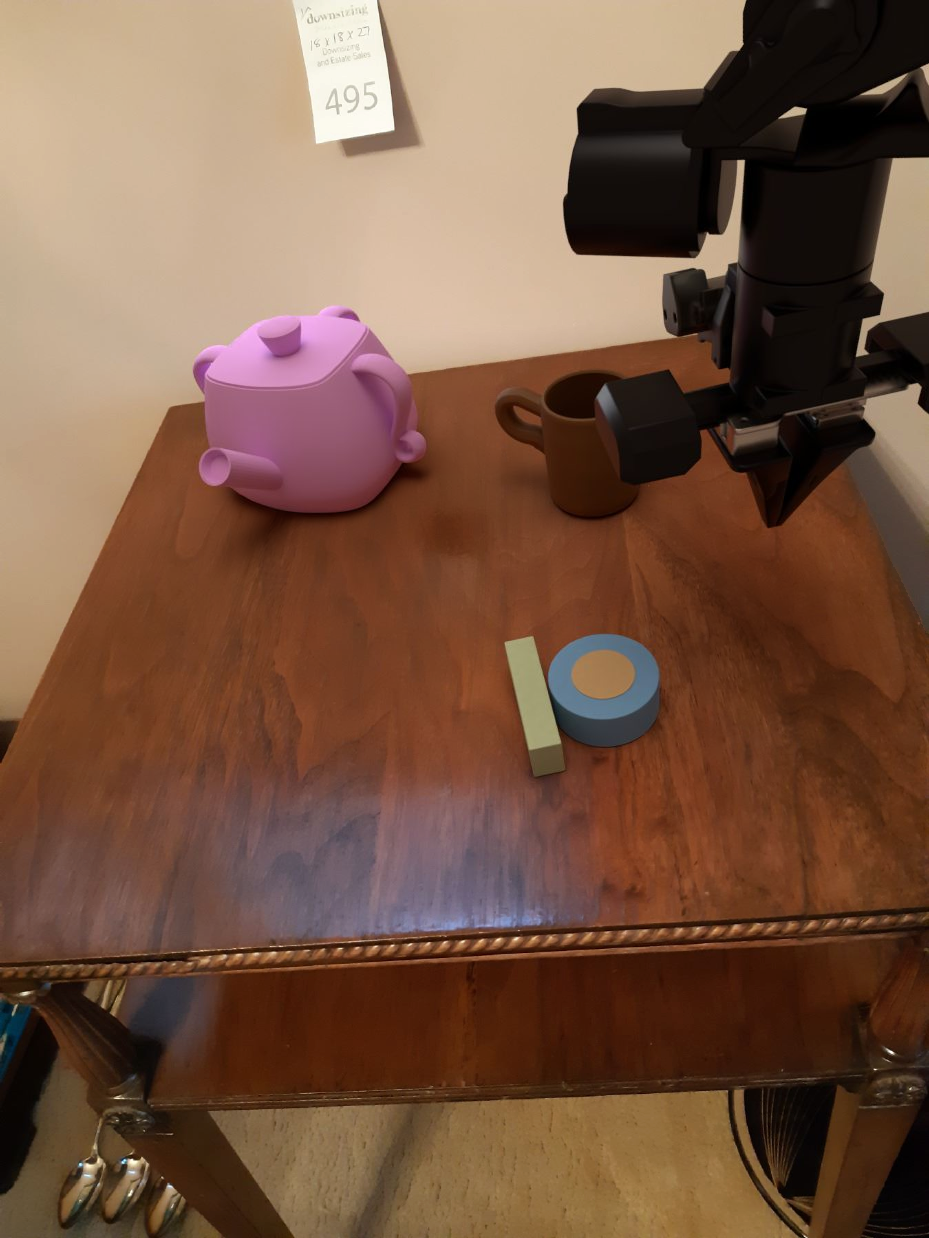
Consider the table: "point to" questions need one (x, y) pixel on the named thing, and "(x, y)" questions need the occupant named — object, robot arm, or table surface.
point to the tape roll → (604, 689)
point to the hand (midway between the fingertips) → (771, 522)
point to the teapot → (306, 413)
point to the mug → (569, 441)
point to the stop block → (534, 707)
